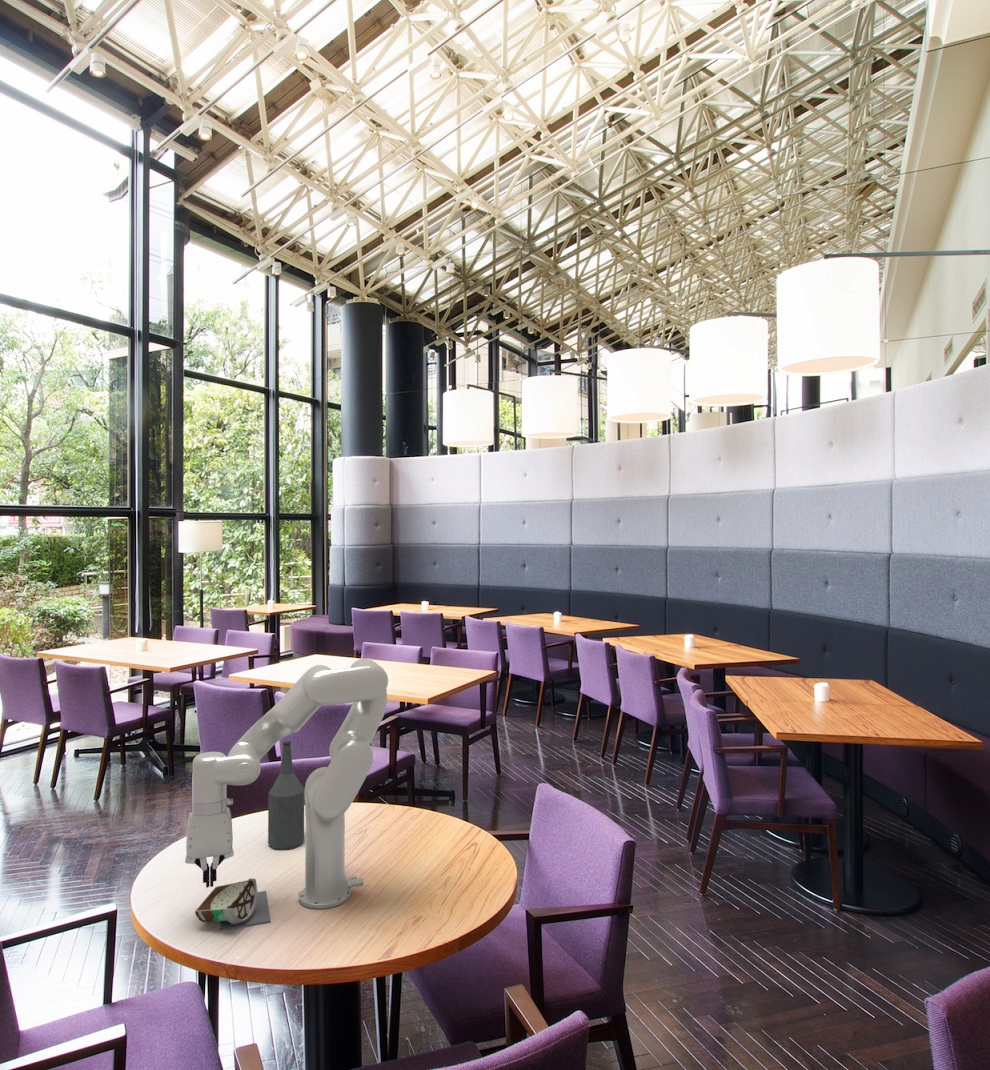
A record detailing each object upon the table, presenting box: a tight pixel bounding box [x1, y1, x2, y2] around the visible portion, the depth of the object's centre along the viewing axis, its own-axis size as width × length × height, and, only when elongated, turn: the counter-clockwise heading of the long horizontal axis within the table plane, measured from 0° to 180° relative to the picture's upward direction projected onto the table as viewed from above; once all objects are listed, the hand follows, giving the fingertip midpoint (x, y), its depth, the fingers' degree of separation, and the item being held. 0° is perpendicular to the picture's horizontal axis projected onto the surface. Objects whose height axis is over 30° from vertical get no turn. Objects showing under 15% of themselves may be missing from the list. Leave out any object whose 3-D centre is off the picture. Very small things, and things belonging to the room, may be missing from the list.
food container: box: [194, 878, 258, 924], centre depth 171 cm, size 12×6×10 cm
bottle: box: [267, 740, 305, 851], centre depth 216 cm, size 10×10×30 cm
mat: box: [219, 890, 271, 932], centre depth 175 cm, size 11×16×1 cm
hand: (209, 884), depth 173 cm, fingers closed
